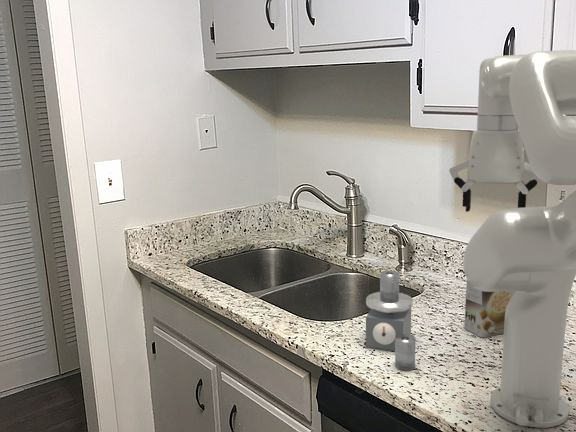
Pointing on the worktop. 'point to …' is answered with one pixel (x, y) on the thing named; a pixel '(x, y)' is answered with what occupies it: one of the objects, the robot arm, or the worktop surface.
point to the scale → (386, 328)
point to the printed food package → (485, 311)
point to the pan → (378, 305)
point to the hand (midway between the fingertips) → (493, 211)
